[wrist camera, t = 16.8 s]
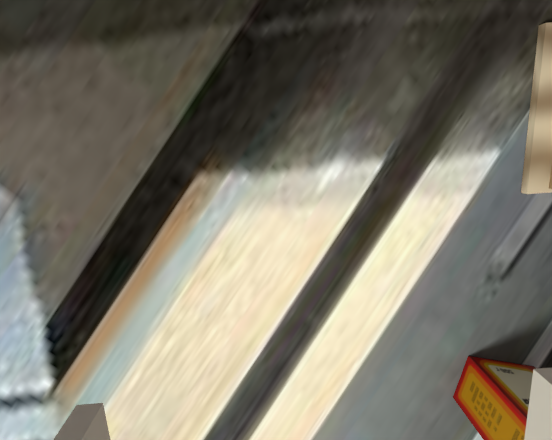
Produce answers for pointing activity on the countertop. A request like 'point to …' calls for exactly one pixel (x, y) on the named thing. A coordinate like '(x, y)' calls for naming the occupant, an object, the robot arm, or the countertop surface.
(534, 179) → the slotted holder
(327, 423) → the countertop surface
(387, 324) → the countertop surface
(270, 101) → the countertop surface
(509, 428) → the baking soda box
